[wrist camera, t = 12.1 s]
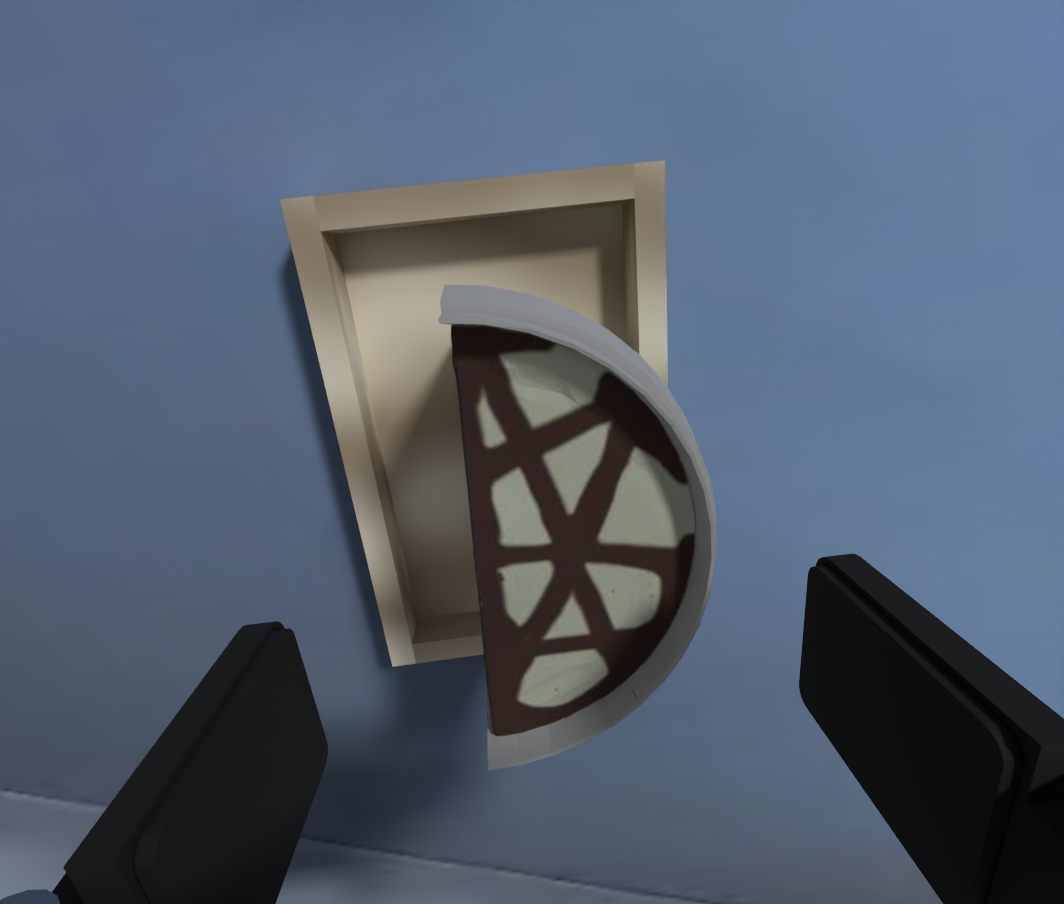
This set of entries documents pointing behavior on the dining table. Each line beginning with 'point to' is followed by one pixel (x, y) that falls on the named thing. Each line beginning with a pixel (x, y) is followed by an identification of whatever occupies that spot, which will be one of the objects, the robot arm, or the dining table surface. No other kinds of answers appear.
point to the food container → (573, 519)
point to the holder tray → (426, 349)
